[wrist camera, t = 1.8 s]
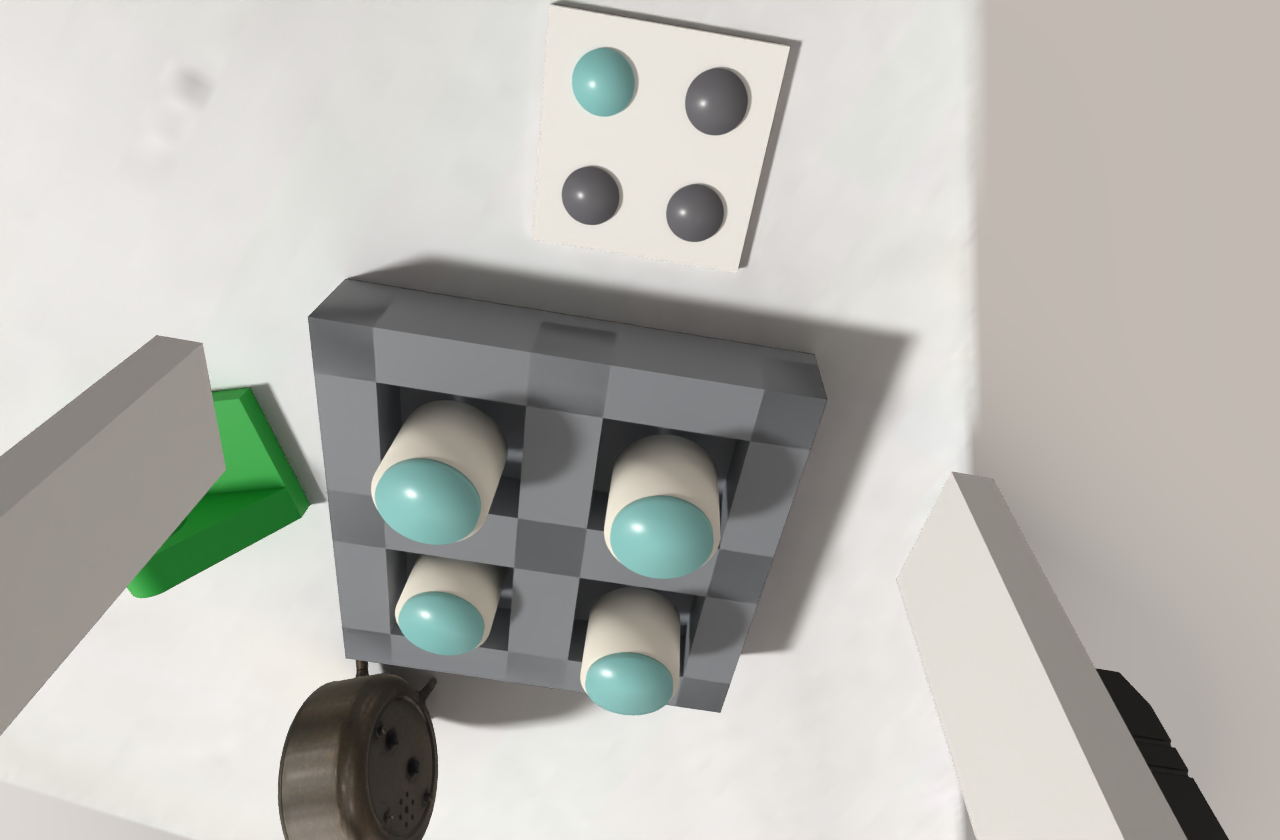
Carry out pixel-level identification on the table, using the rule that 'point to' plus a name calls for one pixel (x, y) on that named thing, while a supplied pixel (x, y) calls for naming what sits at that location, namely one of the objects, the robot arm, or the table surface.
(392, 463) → the button
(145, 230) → the table surface
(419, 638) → the button
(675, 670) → the button
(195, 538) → the bracket
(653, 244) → the tile
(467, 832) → the table surface
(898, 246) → the table surface
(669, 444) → the button
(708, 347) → the button board
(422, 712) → the alarm clock
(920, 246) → the table surface
